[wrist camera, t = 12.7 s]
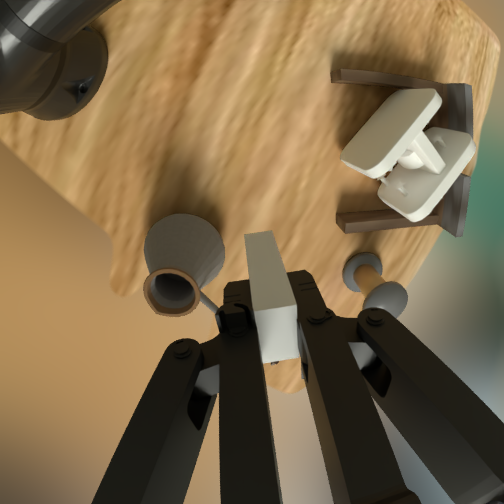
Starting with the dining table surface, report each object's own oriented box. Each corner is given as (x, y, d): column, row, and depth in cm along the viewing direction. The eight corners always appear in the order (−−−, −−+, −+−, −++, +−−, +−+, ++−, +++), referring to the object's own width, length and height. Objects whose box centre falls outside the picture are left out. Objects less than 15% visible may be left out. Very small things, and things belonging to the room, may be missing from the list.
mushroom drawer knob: (343, 254, 44) (368, 289, 36) (382, 250, 45) (411, 281, 36) (341, 291, 48) (361, 329, 39) (377, 285, 48) (402, 320, 39)
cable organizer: (394, 85, 33) (443, 82, 23) (434, 135, 36) (483, 148, 26) (333, 155, 38) (369, 172, 27) (379, 202, 41) (420, 231, 31)
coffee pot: (136, 251, 42) (100, 311, 29) (175, 191, 38) (146, 233, 25) (246, 319, 49) (251, 389, 35) (291, 272, 45) (314, 337, 32)
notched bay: (330, 72, 32) (356, 62, 24) (434, 85, 32) (471, 85, 24) (335, 223, 42) (358, 249, 34) (430, 215, 42) (462, 236, 34)
